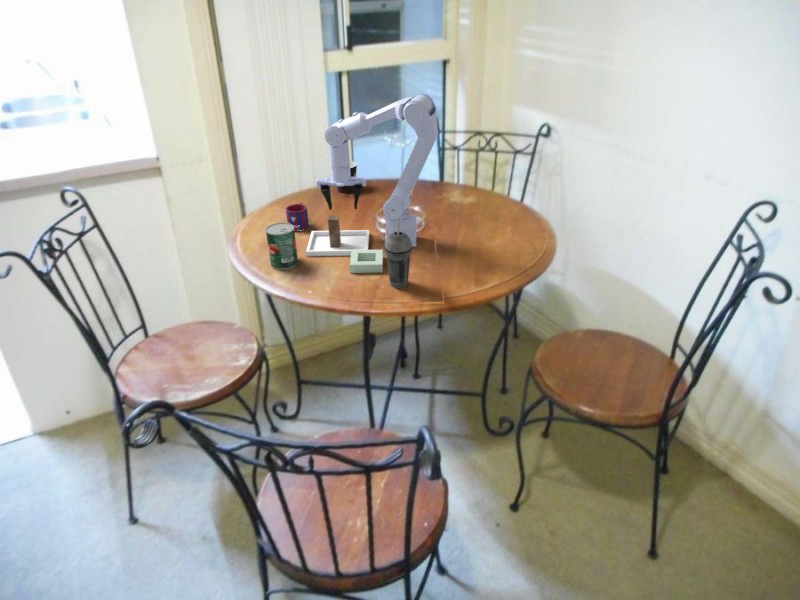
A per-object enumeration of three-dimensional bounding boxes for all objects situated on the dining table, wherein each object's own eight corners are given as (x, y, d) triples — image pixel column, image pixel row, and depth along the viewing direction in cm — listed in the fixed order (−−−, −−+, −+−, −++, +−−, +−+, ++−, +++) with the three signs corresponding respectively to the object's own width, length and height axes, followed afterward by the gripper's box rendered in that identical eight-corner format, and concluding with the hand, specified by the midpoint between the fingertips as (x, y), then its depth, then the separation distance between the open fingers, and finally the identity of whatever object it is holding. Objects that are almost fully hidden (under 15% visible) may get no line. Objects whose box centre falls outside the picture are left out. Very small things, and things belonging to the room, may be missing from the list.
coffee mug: (349, 184, 216) (347, 159, 211) (362, 191, 211) (361, 164, 206) (323, 192, 210) (321, 166, 205) (337, 199, 205) (335, 172, 199)
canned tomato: (264, 265, 163) (259, 230, 157) (284, 254, 169) (279, 220, 163) (285, 272, 159) (280, 236, 153) (304, 261, 165) (300, 226, 159)
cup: (285, 230, 182) (282, 211, 179) (296, 218, 191) (293, 199, 187) (304, 232, 181) (302, 212, 178) (315, 219, 189) (313, 200, 186)
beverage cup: (411, 278, 155) (411, 210, 145) (413, 292, 149) (413, 222, 138) (385, 279, 155) (383, 211, 144) (385, 293, 149) (383, 223, 138)
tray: (369, 235, 178) (369, 230, 177) (367, 256, 167) (367, 250, 165) (312, 236, 178) (311, 231, 177) (306, 257, 166) (305, 251, 165)
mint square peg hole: (383, 258, 165) (382, 249, 164) (382, 273, 158) (382, 264, 156) (352, 259, 165) (351, 250, 164) (350, 274, 158) (349, 264, 156)
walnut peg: (340, 242, 173) (338, 215, 168) (340, 247, 171) (338, 219, 166) (331, 242, 173) (328, 215, 168) (330, 247, 171) (327, 219, 166)
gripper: (314, 170, 163) (318, 214, 170) (364, 169, 163) (366, 212, 170) (316, 162, 169) (320, 204, 176) (365, 161, 169) (367, 203, 176)
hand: (343, 208), depth 173 cm, fingers open, 7 cm apart
